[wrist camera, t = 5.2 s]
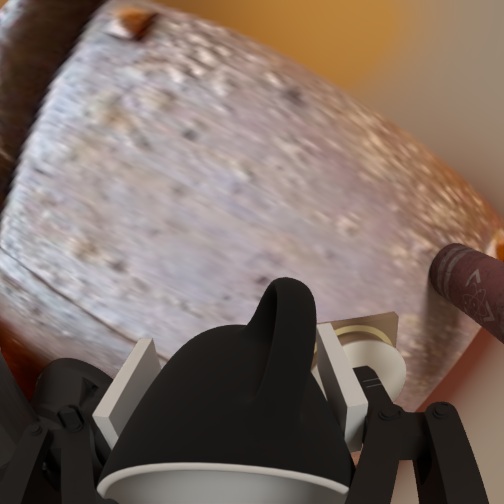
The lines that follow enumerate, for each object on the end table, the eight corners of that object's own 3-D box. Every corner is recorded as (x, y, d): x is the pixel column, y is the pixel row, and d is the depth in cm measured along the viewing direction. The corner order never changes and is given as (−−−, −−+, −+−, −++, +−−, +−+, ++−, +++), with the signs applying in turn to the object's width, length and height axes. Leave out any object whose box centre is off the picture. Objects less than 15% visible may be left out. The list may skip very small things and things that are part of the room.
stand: (300, 404, 35) (305, 432, 30) (296, 326, 32) (302, 350, 27) (385, 389, 34) (399, 414, 30) (394, 311, 32) (413, 332, 27)
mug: (286, 438, 18) (301, 572, 8) (151, 405, 18) (101, 538, 8) (366, 272, 15) (485, 390, 6) (191, 219, 15) (87, 301, 5)
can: (447, 304, 32) (519, 363, 18) (419, 273, 31) (497, 329, 17) (477, 265, 31) (557, 308, 17) (451, 231, 30) (540, 265, 16)
